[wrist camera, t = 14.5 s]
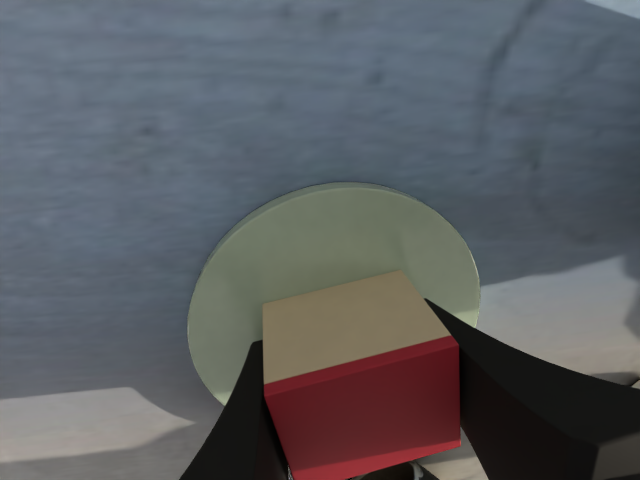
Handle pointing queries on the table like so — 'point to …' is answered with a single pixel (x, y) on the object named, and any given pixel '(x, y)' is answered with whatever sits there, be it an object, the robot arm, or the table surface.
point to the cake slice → (359, 378)
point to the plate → (320, 265)
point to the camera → (399, 473)
